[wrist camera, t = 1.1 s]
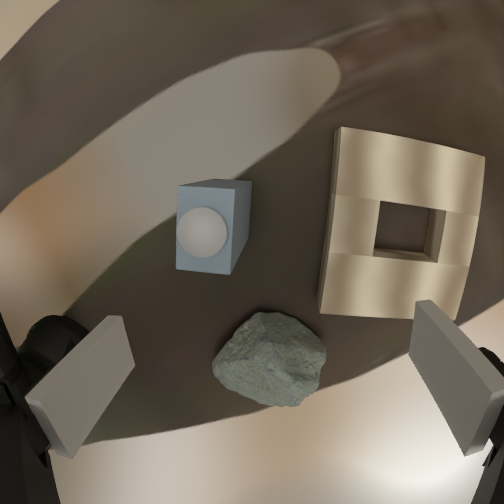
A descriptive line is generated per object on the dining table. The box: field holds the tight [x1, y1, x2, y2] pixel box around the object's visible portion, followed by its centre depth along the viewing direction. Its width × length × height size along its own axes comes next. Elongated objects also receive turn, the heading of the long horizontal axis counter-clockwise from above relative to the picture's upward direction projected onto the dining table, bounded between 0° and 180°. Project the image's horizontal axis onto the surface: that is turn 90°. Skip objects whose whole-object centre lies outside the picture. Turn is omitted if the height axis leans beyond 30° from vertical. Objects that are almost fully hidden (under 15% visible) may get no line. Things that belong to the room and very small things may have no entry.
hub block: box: [317, 127, 485, 320], centre depth 31 cm, size 16×18×4 cm
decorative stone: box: [212, 312, 326, 407], centre depth 35 cm, size 13×11×10 cm
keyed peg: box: [176, 179, 252, 275], centre depth 28 cm, size 4×6×13 cm, turn 176°
